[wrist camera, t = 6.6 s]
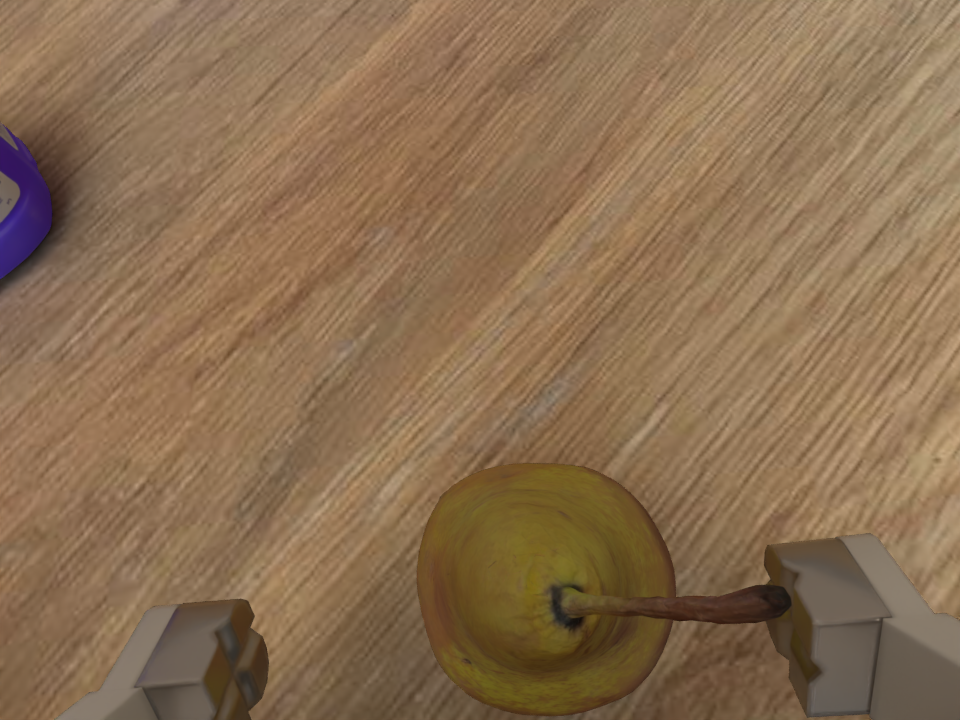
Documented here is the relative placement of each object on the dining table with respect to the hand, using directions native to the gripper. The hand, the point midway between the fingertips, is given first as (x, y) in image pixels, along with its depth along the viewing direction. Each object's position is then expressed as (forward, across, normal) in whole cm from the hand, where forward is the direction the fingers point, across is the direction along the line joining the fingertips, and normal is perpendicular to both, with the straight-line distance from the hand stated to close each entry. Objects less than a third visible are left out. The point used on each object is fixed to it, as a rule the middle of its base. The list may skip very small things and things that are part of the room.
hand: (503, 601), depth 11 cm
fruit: (+6, 0, +5) cm, 8 cm away
